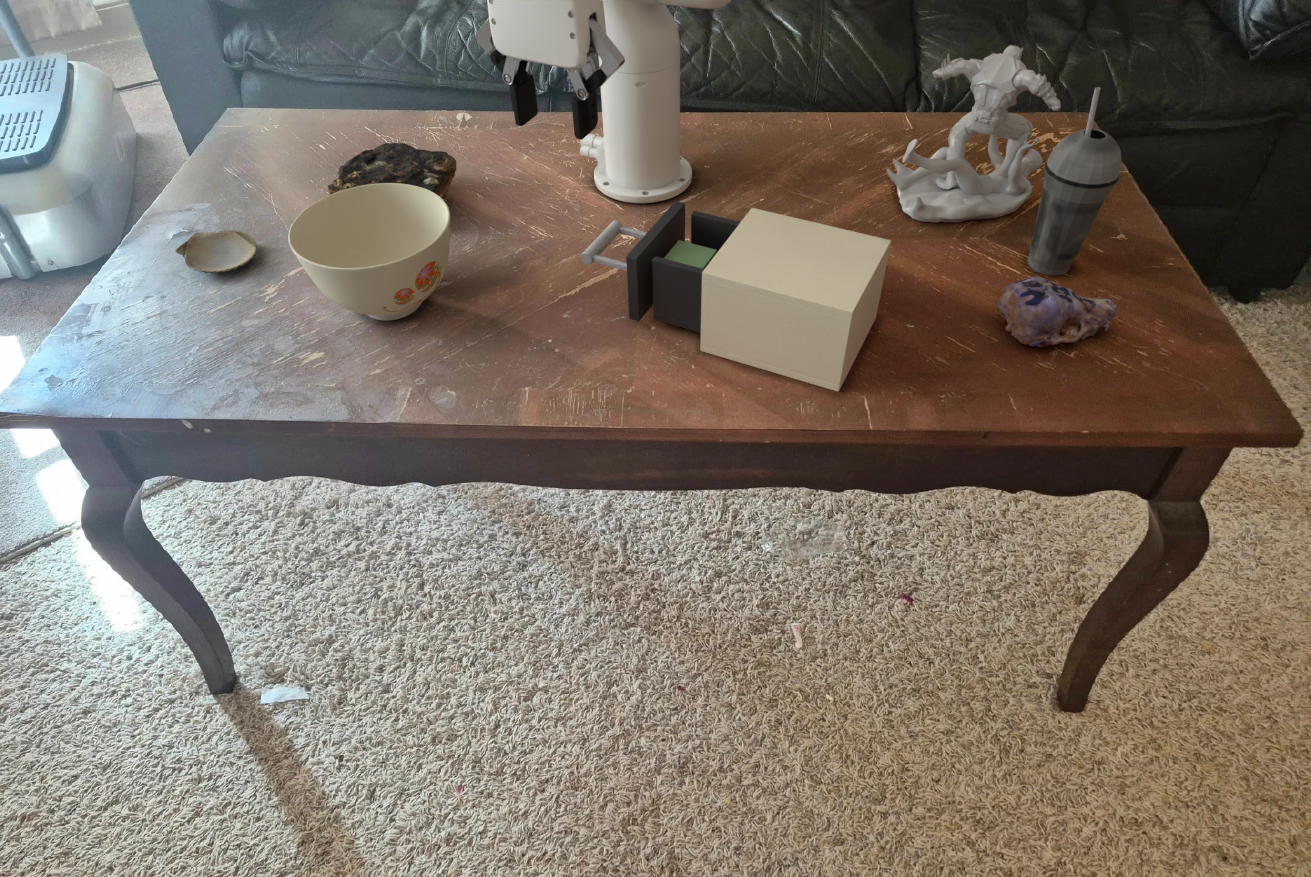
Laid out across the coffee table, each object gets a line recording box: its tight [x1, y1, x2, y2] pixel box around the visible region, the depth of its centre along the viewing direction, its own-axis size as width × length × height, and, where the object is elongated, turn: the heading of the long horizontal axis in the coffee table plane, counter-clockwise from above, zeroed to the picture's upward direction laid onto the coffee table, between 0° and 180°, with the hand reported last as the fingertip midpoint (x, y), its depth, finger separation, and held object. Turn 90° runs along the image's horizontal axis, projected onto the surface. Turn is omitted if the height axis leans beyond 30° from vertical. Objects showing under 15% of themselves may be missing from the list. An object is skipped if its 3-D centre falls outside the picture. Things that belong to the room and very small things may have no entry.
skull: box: [994, 276, 1118, 348], centre depth 88 cm, size 12×8×6 cm, turn 85°
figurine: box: [885, 44, 1062, 223], centre depth 102 cm, size 18×13×18 cm
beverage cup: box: [1027, 86, 1122, 276], centre depth 91 cm, size 7×7×20 cm
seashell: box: [175, 230, 258, 274], centre depth 101 cm, size 8×3×8 cm
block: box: [664, 240, 717, 269], centre depth 91 cm, size 4×4×4 cm
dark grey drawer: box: [579, 200, 741, 334], centre depth 91 cm, size 20×11×8 cm, turn 64°
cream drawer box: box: [699, 207, 892, 393], centre depth 87 cm, size 15×13×10 cm
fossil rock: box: [327, 141, 457, 201], centre depth 108 cm, size 14×14×6 cm
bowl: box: [287, 183, 451, 322], centre depth 92 cm, size 16×16×10 cm
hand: (556, 124), depth 86 cm, fingers open, 6 cm apart
